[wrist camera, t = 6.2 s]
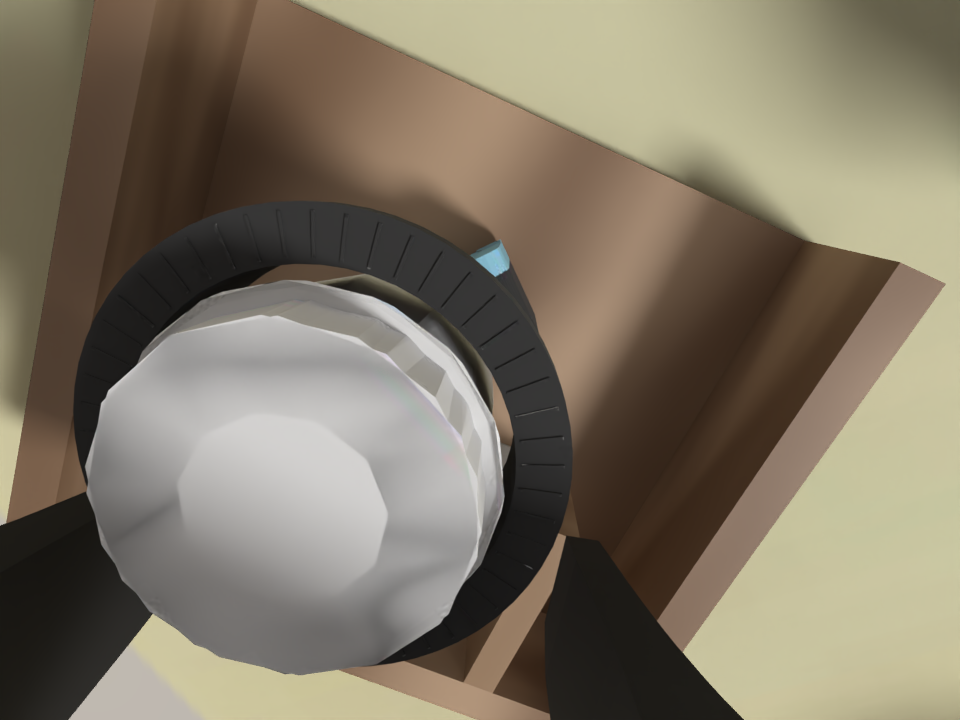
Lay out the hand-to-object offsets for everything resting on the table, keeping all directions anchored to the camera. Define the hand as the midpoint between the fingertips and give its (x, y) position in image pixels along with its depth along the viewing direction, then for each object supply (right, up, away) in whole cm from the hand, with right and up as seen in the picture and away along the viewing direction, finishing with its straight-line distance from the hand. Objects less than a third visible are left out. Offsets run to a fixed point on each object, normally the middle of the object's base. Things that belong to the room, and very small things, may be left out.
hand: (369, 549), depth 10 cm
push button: (0, +5, +4) cm, 6 cm away
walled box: (+1, +3, +5) cm, 6 cm away
